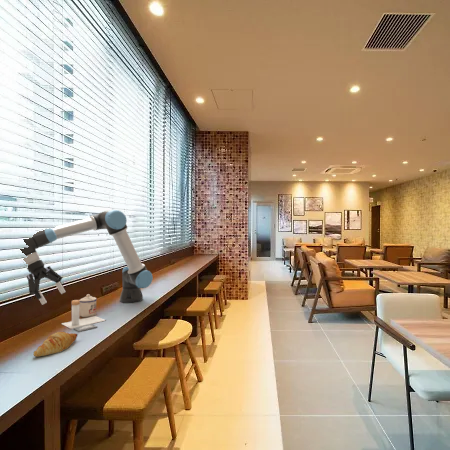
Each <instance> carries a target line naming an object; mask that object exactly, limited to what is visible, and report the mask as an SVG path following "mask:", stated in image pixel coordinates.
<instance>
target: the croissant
mask: <svg viewBox="0 0 450 450" xmlns="http://www.w3.org/2000/svg"><path fill="white" fill-rule="evenodd" d="M77 337H78V333H76V332H75V333H70V332H66V331H56V332H54V333H52V334H50V335H49V336H48V337H47V338H46V339H45V340H44V341H43V342H42V343H41V344H40V345H38V347H37V349H36V350H34V352H33V357H35V358H36V357H38V358H39V357H44V356H50V355H53V354H58V353H60V352H63V351H64V350H67V349H69V348H70V347H71V346H72V344H73V343H75V341H76V340H77Z"/></svg>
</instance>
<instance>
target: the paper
mask: <svg viewBox="0 0 450 450" xmlns="http://www.w3.org/2000/svg"><path fill="white" fill-rule="evenodd" d="M106 321H107V319H103V318H101V317H98V316H96V315H94V316H90V317H83V318H79V325H77V326H72V320H70V321H68V322H62V323H61V325H62V326H64V327H66V328H67V329H68V328H69V329H70V330H72V329H73V330H74V328H77V327H81V326H85V325H90V324H93V325H95V324H96V323H97V324H98V323H101V322H106Z"/></svg>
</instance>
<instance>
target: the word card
mask: <svg viewBox="0 0 450 450" xmlns="http://www.w3.org/2000/svg"><path fill="white" fill-rule="evenodd" d="M97 328H98V326H97V325H96V324H90V325H85V326H81V327H77V328H73V331H75V332H77V333H83V332H85V331H88V330H89V331H90V330H94V329H97Z"/></svg>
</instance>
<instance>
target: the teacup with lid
mask: <svg viewBox="0 0 450 450" xmlns="http://www.w3.org/2000/svg"><path fill="white" fill-rule="evenodd" d="M79 300H80V313H79V317H80V318H81V317H82V318H88V317H93V316H96V315H97V301H98V300H97V297H95V296H92V295H91V294H89V293H88V294H86V296H84V297H82V298H80V299H79Z"/></svg>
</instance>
